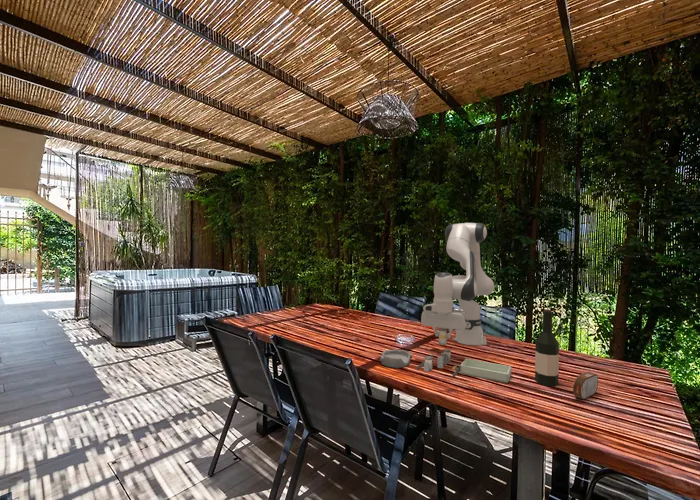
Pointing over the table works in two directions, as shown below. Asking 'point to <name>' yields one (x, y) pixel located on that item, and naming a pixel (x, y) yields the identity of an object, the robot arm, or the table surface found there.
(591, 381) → the tin
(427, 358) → the fuse cartridge near camera
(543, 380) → the wine bottle
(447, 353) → the fuse cartridge near arm
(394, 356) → the dish
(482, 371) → the tray
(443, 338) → the cylinder
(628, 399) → the table surface
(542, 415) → the table surface
